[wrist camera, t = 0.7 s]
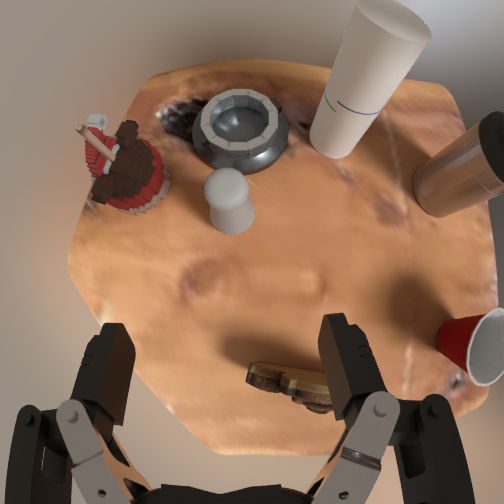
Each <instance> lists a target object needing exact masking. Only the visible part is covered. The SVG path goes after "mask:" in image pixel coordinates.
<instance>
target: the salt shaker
mask: <svg viewBox="0 0 504 504" xmlns="http://www.w3.org/2000/svg"><path fill="white" fill-rule="evenodd" d="M204 194H205V198H206V200H207V201H208V203H209V205H210V210H209V212H210V220H211V222H212V224H213V225H214V227H215V229H216V230H218V231H220V232H222V233H224V234H226V235H237V234H240V233H243V232H245V231H246V230H247V229H248V228H249V227H250V226H251V225H252V223H253V220H254V217H255V209H254V204H253V203H252V201H251V200H250V199H249V197H248V194H249V188H248V181H247V180H246V178H245V177H244V176H243V174H242V173H241V172H240V171H238V170H236V169H234V168H225V167H223V168H220V169H217V170H215V171H213V172H212V173H211V174H210V175H209V176H208V177H207V179H206V182H205V185H204Z"/></svg>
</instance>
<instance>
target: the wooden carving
mask: <svg viewBox="0 0 504 504" xmlns="http://www.w3.org/2000/svg"><path fill="white" fill-rule="evenodd" d="M246 383H248V384H250V385H252V386H254V387H256V388H258V389H260V390H264V391H267V392H273V393H280V392H281V393H283V394H285V395H289V396H291V397H292V401H293V402H295V403H297V404H303V405H305V406H306V408H307V409H308V410H310V411H312V412H315V413H318V414H326V413H328V412H330V411H334V410H333V406H332V402H331V397H330V393H329V389H328V385H327V381H326V377H325V373H322V372H317V371H312V370H306V369H301V368H294V367H286V366H280V365H276V364H272V363H267V362H262V361H259V362H256V363H251V364H250V366H249V370H248V373H247V377H246Z"/></svg>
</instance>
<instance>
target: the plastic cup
mask: <svg viewBox="0 0 504 504" xmlns="http://www.w3.org/2000/svg"><path fill="white" fill-rule="evenodd" d="M437 347H438V350H439V351H440V352H441V353H442V354H443V355H444V356H446V357H447V358H449V359H450V360H451V361H452V362H453V363H455V364H456V365H458V366H459V367H460V368H462V369H463V370H464V371H466V372H467V373H468V376H469V378H470V379H471V380H472V381H473V382H474V383H475V384H476V385H478V386H487V385H490V384H492V383H494V382H495V381H496V380H497V379H498V378H499V377H500V376H501V375H502V374H503V373H504V309H502V308H497V309H494V310H490V311H489V312H487V313H486V314H484V315H478V316H471V317H464V318H461V319H453V320H449V321H447V322H446V323H444V324H443V325H442V327H441V328H440V330H439V332H438V335H437Z"/></svg>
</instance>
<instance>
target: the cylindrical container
mask: <svg viewBox="0 0 504 504" xmlns="http://www.w3.org/2000/svg"><path fill="white" fill-rule="evenodd" d="M430 40H431V33H430V30H429V28H428V27H427V25H426V24H425V23H424V21H423V20H422V19H421V18H420V17H419V16H418V15H416V14H415V13H414V12H413V11H411V10H410V9H408V8H407V7H405V6H403V5H402V4H400V3H398V2H395V1H394V0H357V1H356V4H355V7H354V10H353V13H352V15H351V18H350V21H349V24H348V27H347V30H346V32H345V36H344V38H343V41H342V43H341V47H340V49H339V52H338V55H337V57H336V61H335V63H334V66H333V68H332V71H331V74H330V77H329V79H328V82H327V85H326V88H325V90H324V93H323V96H322V99H321V101H320V104H319V107H318V110H317V112H316V115H315V118H314V121H313V123H312V126H311V129H310V132H309V137H310V141H311V144H312V145H313V147H314V148H315V149H316V150H317V151H318V152H319V153H320V154H322V155H323V156H326V157H329V158H334V159H338V158H343V157H345V156H347V155H348V154H349V153H350V152H351V151H352V150H353V148H354V147H355V146H356V144H357V143H358V141H359V140H360V139H361V137H362V136H363V135H364V133H365V132H366V130H367V129H368V128H369V126H370V125H371V124H372V122H373V121H374V119H375V118H376V117H377V115H378V114H379V112H380V111H381V110H382V108H383V107H384V105H385V104H386V103H387V101H388V100H389V98H390V97H391V96H392V94H393V93H394V91H395V90H396V89H397V87H398V86H399V84H400V83H401V82H402V80H403V79H404V77H405V76H406V74H407V73H408V72H409V70H410V69H411V67H412V66H413V64H414V63H415V61H416V60H417V58H418V57H419V56H420V54H421V53H422V51H423V50H424V48H425V47H426V46H427V44H428V43H429V41H430Z"/></svg>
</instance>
